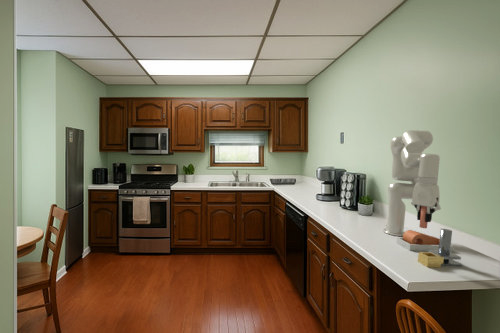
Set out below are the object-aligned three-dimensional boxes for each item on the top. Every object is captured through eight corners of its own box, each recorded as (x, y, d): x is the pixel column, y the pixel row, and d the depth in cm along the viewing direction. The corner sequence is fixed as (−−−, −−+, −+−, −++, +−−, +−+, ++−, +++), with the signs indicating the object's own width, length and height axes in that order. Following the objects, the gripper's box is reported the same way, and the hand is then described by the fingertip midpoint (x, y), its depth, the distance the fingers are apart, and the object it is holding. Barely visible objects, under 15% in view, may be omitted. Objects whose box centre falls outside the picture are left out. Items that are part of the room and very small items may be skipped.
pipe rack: (396, 242, 156) (396, 237, 155) (436, 244, 157) (437, 238, 157) (409, 250, 144) (410, 244, 144) (453, 251, 146) (453, 246, 146)
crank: (411, 249, 147) (412, 234, 147) (402, 243, 155) (403, 229, 155) (447, 250, 149) (448, 235, 148) (436, 244, 156) (437, 230, 156)
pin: (417, 226, 129) (419, 205, 129) (422, 226, 131) (424, 205, 130) (424, 228, 127) (426, 206, 126) (428, 228, 128) (430, 206, 127)
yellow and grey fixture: (409, 256, 136) (412, 226, 135) (445, 257, 137) (448, 227, 136) (427, 267, 124) (430, 233, 123) (465, 268, 125) (469, 235, 124)
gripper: (405, 178, 133) (402, 217, 134) (440, 183, 118) (436, 226, 119) (416, 179, 136) (412, 216, 137) (451, 183, 121) (447, 225, 123)
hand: (423, 220), depth 128 cm, fingers closed on pin, 3 cm apart
